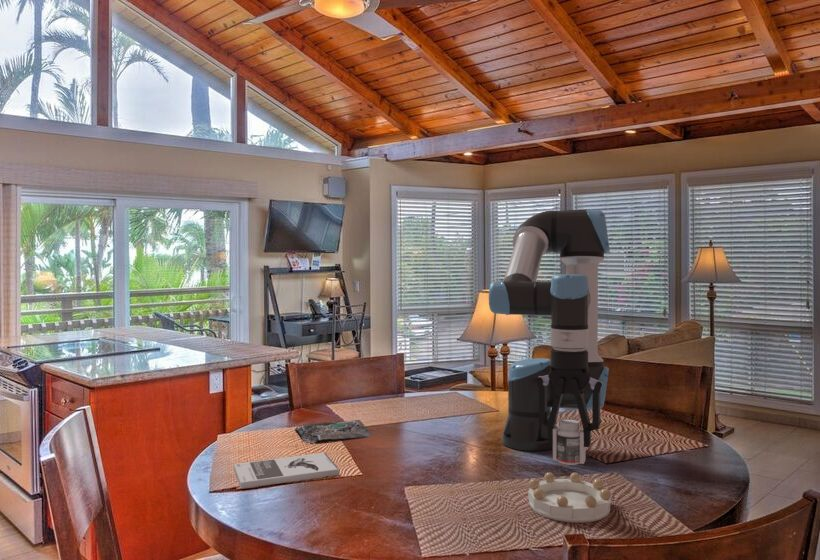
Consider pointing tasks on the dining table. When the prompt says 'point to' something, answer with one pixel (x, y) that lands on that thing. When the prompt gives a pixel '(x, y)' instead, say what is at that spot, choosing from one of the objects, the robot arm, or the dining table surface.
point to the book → (284, 470)
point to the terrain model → (332, 431)
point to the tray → (569, 499)
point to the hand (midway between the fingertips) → (569, 459)
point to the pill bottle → (568, 442)
